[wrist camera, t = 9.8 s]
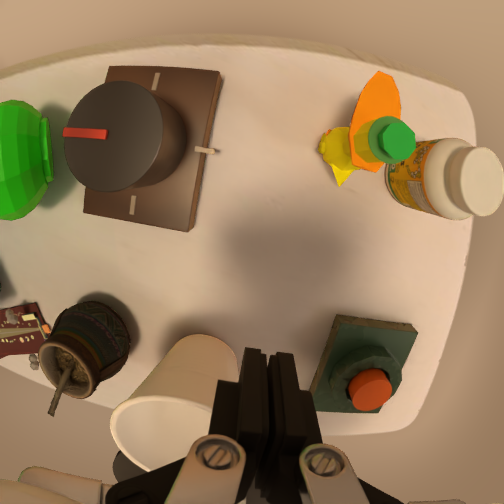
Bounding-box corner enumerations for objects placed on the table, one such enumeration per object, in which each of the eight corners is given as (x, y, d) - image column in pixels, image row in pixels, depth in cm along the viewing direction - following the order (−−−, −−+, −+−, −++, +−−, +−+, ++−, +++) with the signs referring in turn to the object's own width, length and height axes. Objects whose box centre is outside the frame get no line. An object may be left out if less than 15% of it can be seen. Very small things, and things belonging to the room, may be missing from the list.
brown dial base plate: (204, 229, 24) (199, 235, 22) (86, 208, 24) (73, 211, 21) (233, 80, 21) (231, 71, 19) (110, 72, 20) (98, 65, 18)
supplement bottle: (402, 219, 23) (470, 247, 14) (371, 163, 22) (435, 162, 13) (445, 186, 22) (520, 199, 13) (418, 132, 21) (491, 120, 12)
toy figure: (323, 96, 21) (379, 36, 9) (365, 111, 21) (448, 70, 10) (303, 178, 23) (348, 185, 11) (346, 190, 23) (423, 211, 11)
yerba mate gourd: (143, 306, 26) (93, 370, 16) (134, 369, 28) (96, 438, 18) (75, 281, 25) (10, 329, 16) (74, 345, 27) (24, 401, 17)
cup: (133, 353, 27) (86, 431, 16) (199, 290, 25) (163, 368, 14) (208, 412, 29) (193, 497, 18) (280, 362, 27) (289, 455, 16)
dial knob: (195, 103, 19) (173, 81, 14) (177, 193, 21) (149, 201, 16) (113, 97, 19) (73, 79, 14) (97, 180, 21) (54, 186, 15)
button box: (373, 403, 28) (383, 424, 25) (304, 399, 28) (309, 423, 25) (411, 324, 26) (427, 342, 22) (336, 313, 25) (346, 333, 22)
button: (376, 399, 24) (382, 411, 23) (342, 397, 24) (346, 410, 23) (391, 369, 23) (398, 380, 22) (356, 366, 23) (361, 378, 22)
